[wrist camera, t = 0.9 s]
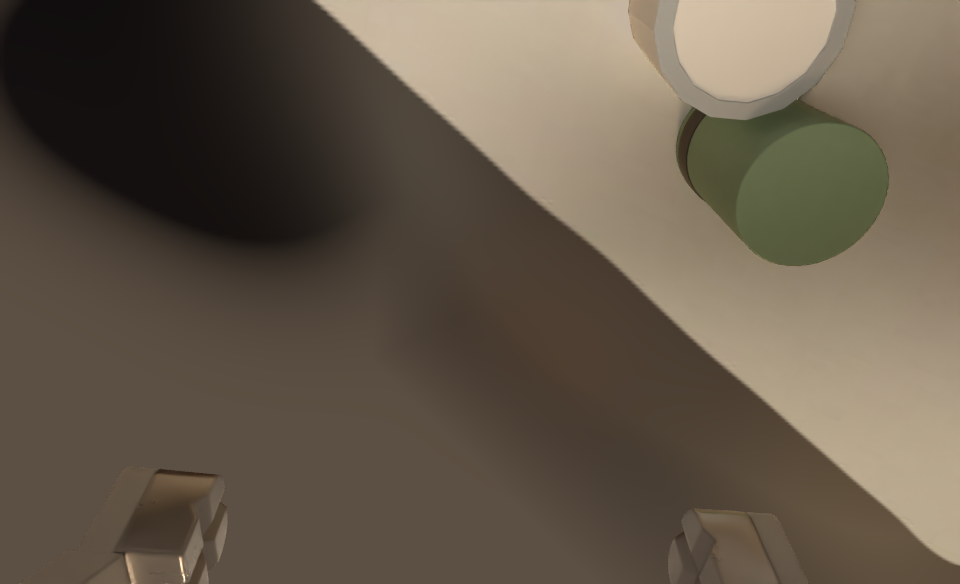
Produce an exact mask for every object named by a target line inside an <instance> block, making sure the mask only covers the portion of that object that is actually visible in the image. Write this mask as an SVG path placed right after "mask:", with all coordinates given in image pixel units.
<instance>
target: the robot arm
mask: <svg viewBox="0 0 960 584" xmlns="http://www.w3.org/2000/svg"><path fill="white" fill-rule="evenodd" d="M223 491H224V483H223V477H222V476H221V475H215V474H203V473H194V472H184V471H174V470H164V469H151V468H140V467H128V468H126V470H124V471H123V472H122V473H121V474H120V475H119V477H118V479H117V481H116V482H115V484H114V486H113V488H112V489H111V491H110V493H109V495H108V496H107V498H106V500H105V502H104V504H103V505H102V507H101V509H100V511H99V512H98V514H97V516H96V518H95V520H94V521H93V523H92V525H91V527H90V528H89V530H88V532H87V534H86V535H85V537H84V539H83V541H82V542H81V544H80V546H79V548H78V549H77V550H67V551H65V552H64V553H62V554H61V555H59V556H58V557H57V558H55V559H54V560H52V561H51V562H50V563H48V564H46V565H45V566H44V567H42V568H41V569H39V570H38V571H36V572H35V573H33V574H32V575H30V576H29V577H28V578H26V579H25V580H23V581H22V582H20V583H19V584H209V581H208V574H207V572H208V571H209V570H210V569H211V568H212V567H214V566H215V565H216V564H217V563H218V561H219V559H220V556H221V552H222V550H223V546H224V541H225V536H226V531H227V507H226V506H225V505H224V504H223V503H222V502H221V501H220V500H221V497H222V494H223ZM681 523H682V526H683V529H684V532H682V533H681V534H679V535H678V536H676V537H675V538H674V539H673V542H672V544H671V547H670V550H669V560H668V561H669V562H668V569H669V577H670V581H671V584H809V583H808V581H807V579H806V577H805V574H804V573H803V570H802V568H801V566H800V564H799V562H798V560H797V558H796V556H795V554H794V552H793V550H792V547H791V545H790V543H789V541H788V539H787V537H786V535H785V533H784V531H783V529H782V527H781V524H780V522H779V520H778V519H777V518H776V517H775V516H774V515H773V514H762V513H748V512H745V513H743V512H741V511H725V510H707V509H689V510H688V511H687V512H685V515H684V517H683V519H682V521H681Z"/></svg>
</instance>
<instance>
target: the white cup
mask: <svg viewBox="0 0 960 584" xmlns="http://www.w3.org/2000/svg"><path fill="white" fill-rule="evenodd" d="M854 11H855V0H630V5H629V11H628V12H629V18H630V23H631V28H632V33H633V38H634V39H635V41H636V42H637V43H638V45H639V46H640V48H641V49H642V51H643V52H644V54H645V55H646V57H647V58H648V59H649V61H650V62H651V63H652V64H653V66H654V67H655V68H656V69H657V71H658V72H659V73H660V74H661V76H662V77H663V78H664V79H665V81H666V82H667V83H668V85H669V86H670V87H671V88H672V90H673V91H674V92H675V93H676V95H677V96H678V97H679V98H680V100H682V101H684V102H685V103H687V104H689V105H691V106H692V107H694V108H696V109H698V110H699V111H701V112H703V113H704V114H706V115H708V116H710V117H717V118H728V119H738V120H748V119H752V118H755V117H758V116H762V115H765V114H768V113H772V112H775V111H778V110H782V109H784V108H785V107H787V106H788V105H789V104H791V103H792V102H793V101H795V100H796V99H798V98H799V97H800V96H802V95H803V94H804V93H806V92H807V91H809V90H810V89H811V88H813V87H814V86H815V85H817V83H818V82H819V81H820V79H821V78H822V77H823V75H824V74H825V72H826V71H827V70H828V68H829V67H830V66H831V64H832V63H833V61H834V60H835V59H836V57H837V56H838V55H839V53H840V52H841V50H842V48H843V45H844V42H845V39H846V36H847V33H848V30H849V27H850V23H851V20H852V17H853V14H854Z"/></svg>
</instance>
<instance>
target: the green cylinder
mask: <svg viewBox="0 0 960 584" xmlns="http://www.w3.org/2000/svg"><path fill="white" fill-rule="evenodd" d="M676 156H677V162H678V166H679V169H680V171H681V173H682V175H683V177H684V179H685V180H686V182H687V183H688V185H689V186H690V187H691V188H692V189H693V190H694V191H695V193H696V194H697V195H698V196H699V197H700V198H701V199H703V200H704V201H705V202H706V203H707V204H708V205H709V206H710V207H711V208H712V209H713V210H714V211H715V212H716V213H717V214H718V215H719V217H720V218H721V219H722V220H723V221H724V222H725V223H726V224H727V225H728V226H729V227H730V228H731V229H732V230H733V231H734V233H735V234H736V235H737V236H738V237H739V238H740V239H741V240H742V241H743V242H744V243H745V244H746V245H747V246H748V247H749V249H751V250H752V251H753V252H754V253H755V254H756V255H758V256H760V257H761V258H763V259H765V260H767V261H769V262H772V263H776V264H780V265H786V266H803V265H810V264H815V263H818V262H821V261H825V260H827V259H829V258H832V257H834V256H836V255H838V254H840V253H841V252H843V251H845V250H846V249H848V248H849V247H850V246H852V245H853V244H854V243H855V242H857V241H858V240H859V239H860V238H861V237H862V236H863V235H864V234H865V233H866V232H867V231H868V229H869V228H870V227H871V225H872V224H873V223H874V221H875V220H876V218H877V216H878V215H879V213H880V211H881V209H882V206H883V204H884V201H885V198H886V195H887V190H888V180H889V175H888V166H887V162H886V159H885V156H884V154H883V152H882V150H881V148H880V147H879V145H878V144H877V142H876V141H875V140H874V139H873V138H872V137H871V136H870V135H868V134H867V133H866V132H864V131H863V130H861V129H859V128H857V127H855V126H853V125H851V124H848V123H846V122H844V121H842V120H840V119H838V118H836V117H833V116H831V115H829V114H827V113H825V112H823V111H820V110H818V109H816V108H814V107H812V106H810V105H808V104H805V103H803V102H801V101H799V100H797V99H796V100H795V101H793V102H792V103H791V104H789V105H788V106H787V107H785V108H784V109H782V110H778V111H775V112H772V113H768V114H765V115H762V116H758V117H755V118H752V119H748V120H738V119H728V118H717V117H710V116H708V115H706V114H704V113H703V112H701V111H699V110H698V109H696V108H694V107H693V108H692V109H691V110H690V112H689V113H688V114H687V116H686V118H685V120H684V121H683V123H682V126H681V128H680V131H679V134H678V138H677V144H676Z"/></svg>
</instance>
